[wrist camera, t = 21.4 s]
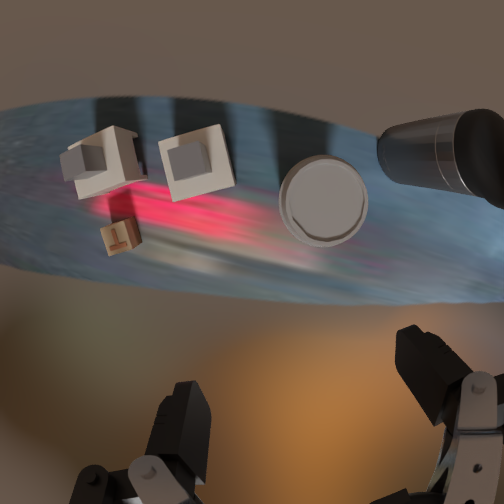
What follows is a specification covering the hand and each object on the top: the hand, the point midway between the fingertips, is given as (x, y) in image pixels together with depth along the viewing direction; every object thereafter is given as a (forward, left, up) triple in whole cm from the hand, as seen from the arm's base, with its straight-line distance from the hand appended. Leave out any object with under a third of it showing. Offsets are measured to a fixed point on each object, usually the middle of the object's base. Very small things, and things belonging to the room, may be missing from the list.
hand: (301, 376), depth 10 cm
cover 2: (+5, -10, -30) cm, 32 cm away
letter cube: (+19, -4, -30) cm, 36 cm away
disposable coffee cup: (-7, -3, -30) cm, 31 cm away
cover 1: (+17, -14, -30) cm, 37 cm away
